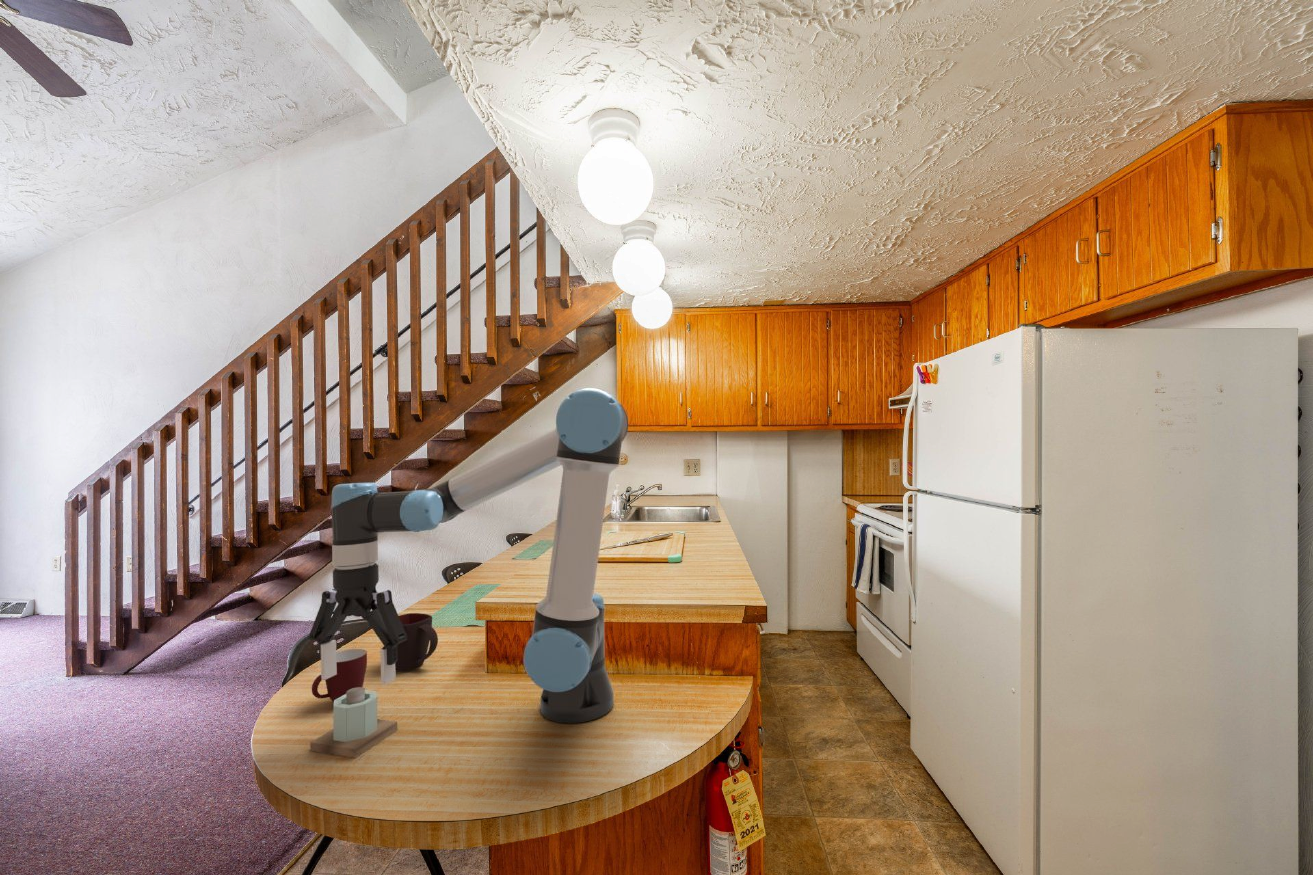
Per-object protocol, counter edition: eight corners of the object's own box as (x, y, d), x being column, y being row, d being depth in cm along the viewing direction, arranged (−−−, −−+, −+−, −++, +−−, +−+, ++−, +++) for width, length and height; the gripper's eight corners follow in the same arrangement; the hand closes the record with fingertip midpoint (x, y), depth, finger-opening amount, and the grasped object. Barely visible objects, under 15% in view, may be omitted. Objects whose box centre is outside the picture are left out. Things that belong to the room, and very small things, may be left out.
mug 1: (326, 719, 107) (326, 669, 108) (302, 711, 111) (303, 662, 111) (374, 698, 117) (375, 651, 117) (351, 691, 120) (352, 646, 121)
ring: (385, 724, 102) (385, 692, 102) (355, 743, 95) (355, 709, 95) (355, 720, 104) (355, 688, 104) (324, 738, 97) (324, 705, 97)
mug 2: (410, 657, 140) (410, 611, 141) (450, 664, 135) (450, 616, 135) (377, 671, 131) (377, 622, 132) (418, 680, 126) (418, 628, 126)
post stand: (397, 729, 103) (397, 682, 103) (355, 757, 93) (355, 705, 93) (355, 723, 105) (355, 677, 106) (310, 750, 96) (310, 699, 96)
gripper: (425, 561, 101) (428, 675, 100) (320, 560, 107) (322, 667, 106) (396, 570, 94) (399, 693, 93) (285, 568, 100) (287, 683, 99)
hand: (358, 679), depth 100 cm, fingers open, 13 cm apart
